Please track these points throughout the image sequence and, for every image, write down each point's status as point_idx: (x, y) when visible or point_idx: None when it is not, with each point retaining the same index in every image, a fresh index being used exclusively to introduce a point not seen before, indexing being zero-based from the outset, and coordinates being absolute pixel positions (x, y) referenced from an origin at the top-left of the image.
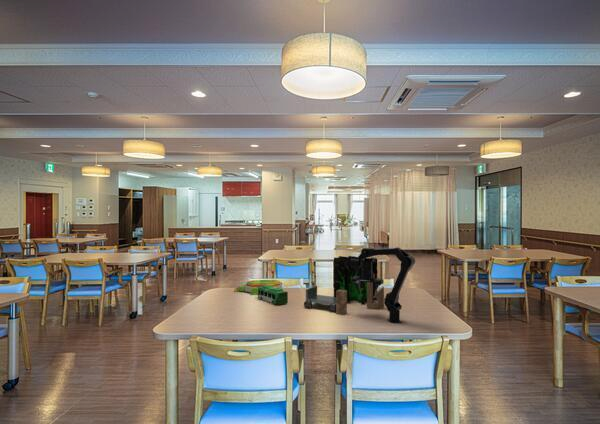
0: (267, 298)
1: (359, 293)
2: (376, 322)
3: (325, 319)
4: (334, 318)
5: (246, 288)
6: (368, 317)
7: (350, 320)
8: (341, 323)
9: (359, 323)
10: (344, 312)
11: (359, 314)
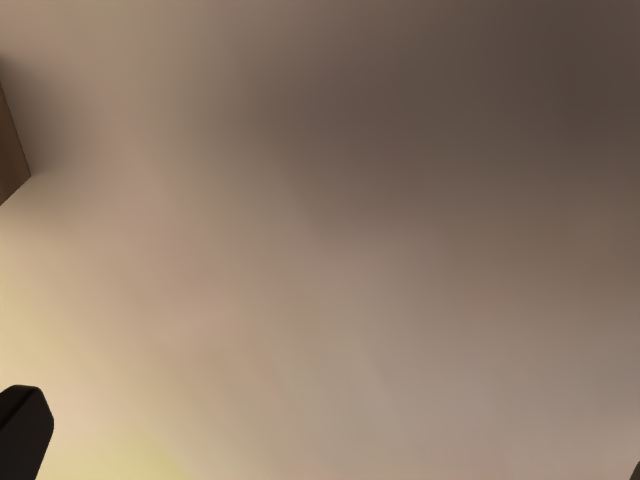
0: None
1: (40, 446)
2: (595, 321)
3: None
4: (57, 346)
5: None
6: (423, 141)
7: (248, 353)
8: (220, 452)
9: (388, 409)
10: (3, 161)
11: (211, 30)
